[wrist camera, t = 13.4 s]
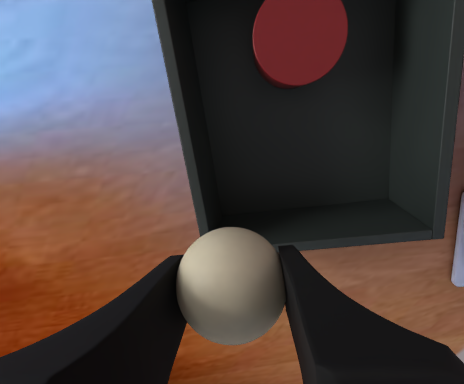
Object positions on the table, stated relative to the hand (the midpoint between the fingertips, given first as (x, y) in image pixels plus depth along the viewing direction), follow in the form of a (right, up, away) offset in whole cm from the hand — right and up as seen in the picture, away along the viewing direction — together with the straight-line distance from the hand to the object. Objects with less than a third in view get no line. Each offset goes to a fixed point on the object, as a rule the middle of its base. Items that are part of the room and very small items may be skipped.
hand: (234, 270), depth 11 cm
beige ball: (0, 0, -1) cm, 1 cm away
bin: (+4, +9, +6) cm, 12 cm away
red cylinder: (+3, +12, +5) cm, 14 cm away
